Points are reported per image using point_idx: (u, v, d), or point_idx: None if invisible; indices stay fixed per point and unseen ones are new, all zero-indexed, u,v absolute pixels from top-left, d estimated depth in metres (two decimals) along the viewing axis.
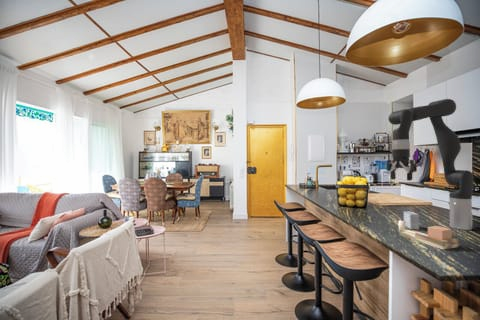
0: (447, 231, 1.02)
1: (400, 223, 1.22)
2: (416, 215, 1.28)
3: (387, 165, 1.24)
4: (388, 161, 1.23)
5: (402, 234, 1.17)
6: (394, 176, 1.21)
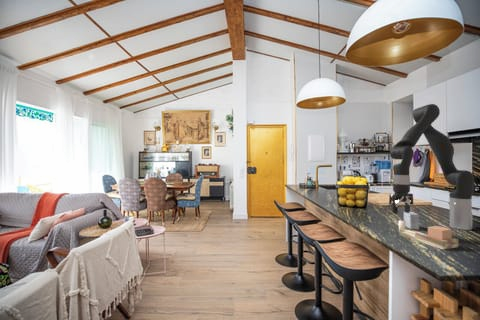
0: (447, 231, 1.02)
1: (400, 223, 1.22)
2: (416, 215, 1.28)
3: (393, 200, 1.20)
4: (394, 196, 1.20)
5: (402, 234, 1.17)
6: None
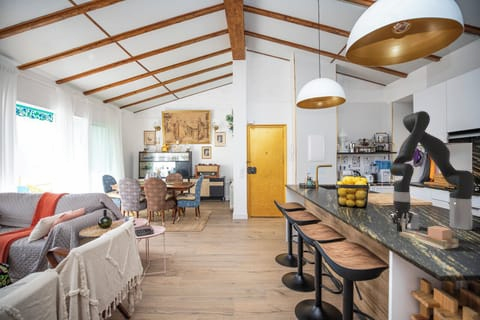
0: (447, 231, 1.02)
1: None
2: (416, 215, 1.28)
3: (396, 220, 1.20)
4: (395, 216, 1.20)
5: (402, 234, 1.17)
6: None
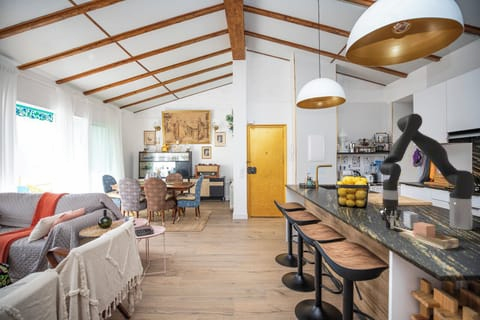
0: (431, 227, 1.09)
1: None
2: (416, 215, 1.28)
3: (385, 217, 1.26)
4: (384, 213, 1.26)
5: (402, 234, 1.17)
6: None
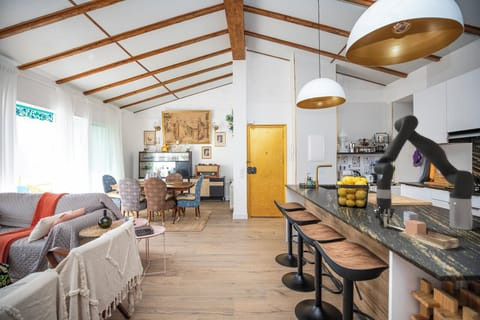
0: (422, 224, 1.13)
1: None
2: (416, 215, 1.28)
3: (378, 215, 1.30)
4: (378, 211, 1.30)
5: (402, 234, 1.17)
6: None
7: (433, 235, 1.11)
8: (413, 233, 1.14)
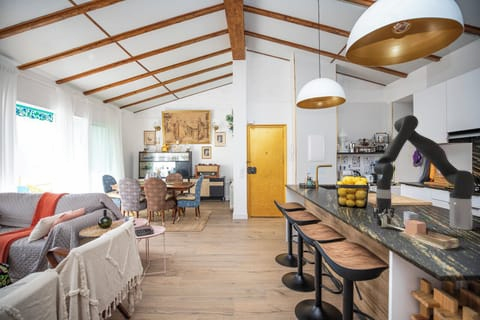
0: (422, 224, 1.13)
1: (382, 218, 1.32)
2: (416, 215, 1.28)
3: (377, 214, 1.30)
4: (377, 210, 1.30)
5: (402, 234, 1.17)
6: None
7: (433, 235, 1.11)
8: (413, 233, 1.14)
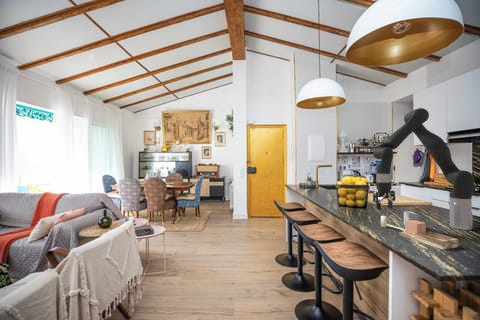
0: (422, 224, 1.13)
1: (382, 218, 1.32)
2: (416, 215, 1.28)
3: (377, 197, 1.30)
4: (377, 193, 1.30)
5: (402, 234, 1.17)
6: None
7: (433, 235, 1.11)
8: (413, 233, 1.14)
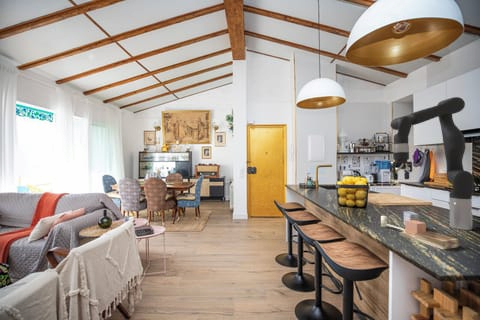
0: (422, 224, 1.13)
1: (382, 218, 1.32)
2: (416, 215, 1.28)
3: (394, 167, 1.28)
4: (394, 163, 1.28)
5: (402, 234, 1.17)
6: None
7: (433, 235, 1.11)
8: (413, 233, 1.14)
